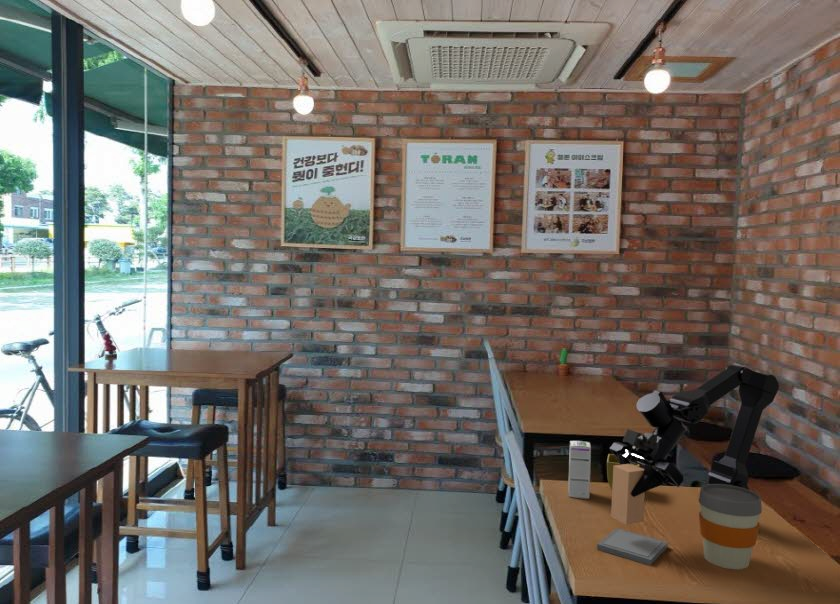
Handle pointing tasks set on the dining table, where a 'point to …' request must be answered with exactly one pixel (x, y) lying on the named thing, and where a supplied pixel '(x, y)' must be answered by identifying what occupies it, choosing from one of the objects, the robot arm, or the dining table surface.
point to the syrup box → (579, 469)
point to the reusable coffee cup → (729, 524)
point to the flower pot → (610, 463)
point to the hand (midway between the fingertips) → (623, 491)
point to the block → (627, 494)
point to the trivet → (633, 546)
